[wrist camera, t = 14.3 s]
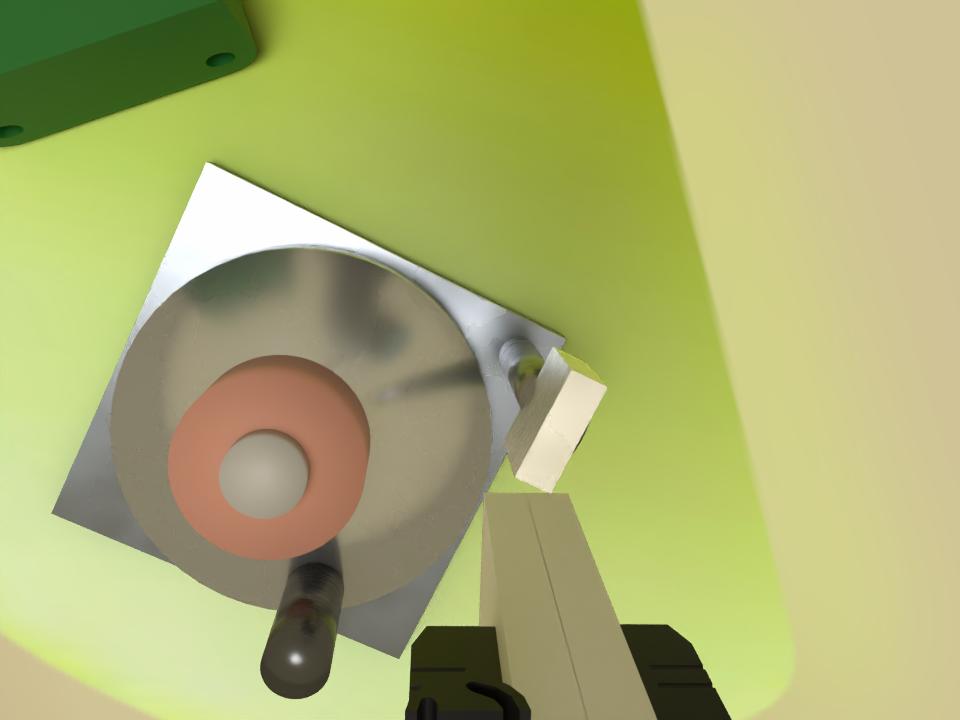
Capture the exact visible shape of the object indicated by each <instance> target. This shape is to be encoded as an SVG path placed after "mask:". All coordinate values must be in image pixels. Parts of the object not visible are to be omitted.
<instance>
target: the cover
mask: <svg viewBox="0 0 960 720" xmlns="http://www.w3.org/2000/svg"><path fill="white" fill-rule="evenodd" d="M369 454H370V429H369V424H368V420H367V416H366V414H365V411H364V409H363V406H362V404H361V402H360V401H359V399H358V397H357V396H356V394H355V393H354V392H353V390H352V389H351V388H350V386H349V385H348V384H347V383H346V382H345V381H344V380H343V379H342V378H341V377H339V376H338V375H337V374H335V373H334V372H333V371H331V370H330V369H328V368H326V367H324V366H323V365H321V364H319V363H316V362H314V361H311V360H308V359H305V358H301V357H297V356H290V355H269V356H262V357H257V358H253V359H250V360H247V361H245V362H242V363H240V364H238V365H236V366H234V367H233V368H231V369H229V370H228V371H227V372H225V373H224V374H222V375H221V376H220V377H219V378H218V379H217V380H216V381H215V382H214V383H213V384H212V385H211V386H210V387H209V388H208V389H207V390H206V391H205V392H204V393H203V394H202V395H201V396H200V397H199V398H198V399H197V400H196V401H195V402H194V403H193V404H192V405H191V406H190V407H189V409H188V410H187V411H186V412H185V414H184V415H183V417H182V418H181V420H180V422H179V423H178V425H177V427H176V429H175V432H174V434H173V437H172V440H171V444H170V448H169V455H168V476H169V481H170V487H171V490H172V493H173V496H174V499H175V501H176V503H177V505H178V507H179V509H180V511H181V512H182V514H183V515H184V517H185V518H186V520H187V521H188V522H189V523H190V525H191V526H192V527H193V528H194V529H195V530H196V531H197V532H198V533H199V534H200V535H201V536H202V537H204V538H205V539H206V540H208V541H209V542H211V543H212V544H214V545H215V546H217V547H219V548H221V549H223V550H225V551H227V552H230V553H232V554H235V555H237V556H241V557H245V558H249V559H257V560H281V559H289V558H293V557H297V556H300V555H303V554H306V553H308V552H311V551H313V550H315V549H317V548H319V547H321V546H322V545H324V544H325V543H327V542H328V541H329V540H331V539H332V538H333V537H334V536H335V535H337V534H338V533H339V532H340V531H341V530H342V529H343V527H344V526H345V525H346V524H347V523H348V521H349V520H350V518H351V517H352V515H353V514H354V512H355V510H356V508H357V506H358V504H359V501H360V499H361V495H362V492H363V489H364V483H365V477H366V471H367V466H368V460H369Z"/></svg>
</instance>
